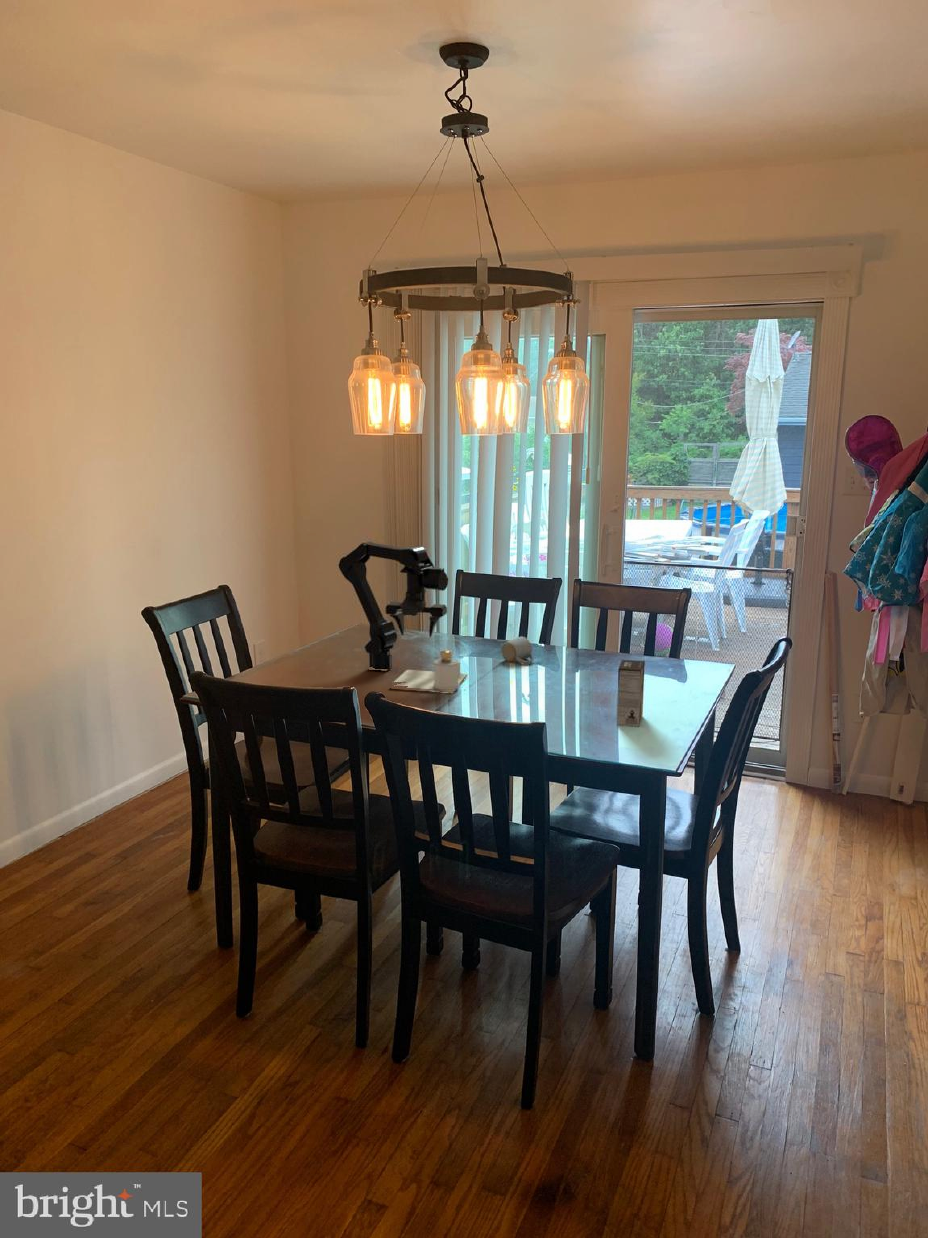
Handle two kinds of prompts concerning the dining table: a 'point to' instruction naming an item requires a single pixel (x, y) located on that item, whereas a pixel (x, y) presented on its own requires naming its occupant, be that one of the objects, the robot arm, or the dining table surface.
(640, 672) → the coffee box
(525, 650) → the ceramic mug
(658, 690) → the dining table surface
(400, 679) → the birch board
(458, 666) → the white faceted container
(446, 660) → the plunger
